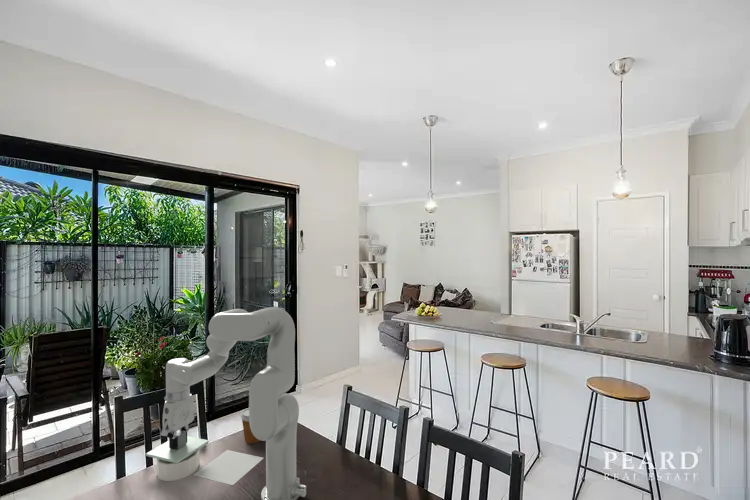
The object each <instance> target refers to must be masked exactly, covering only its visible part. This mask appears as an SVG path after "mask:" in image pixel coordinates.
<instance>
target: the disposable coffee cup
mask: <svg viewBox="0 0 750 500" xmlns="http://www.w3.org/2000/svg"><path fill="white" fill-rule="evenodd" d="M240 418H241V420H242V429H243V436H244V442H245V443H246V444H256V443H258V442H260V441H261V440H259V439H257V438H256V437H255V436H254V435H253V433H252V431H251V429H250V424H249V407H248V408H245V409H243V410H242V412H241V414H240Z"/></svg>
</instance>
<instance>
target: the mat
mask: <svg viewBox="0 0 750 500" xmlns="http://www.w3.org/2000/svg"><path fill="white" fill-rule="evenodd" d="M263 460H264V457H263V456H257V455H253V454H248V453H243V452H238V451H234V450H230V449H225V451H223V452H221V454H219V455H218V456H217V457H215V458H214V459H213V460H211V461H209V462H208V463H207V464H206V465H204V466H203V467H202V468H200V469H199V470H197V472H196V471H195V472H194V473H193V476H194V477H199V478H202V479H206V480H211V481H213V482H218V483H220V484H226V485H229V486H234V485H235V484H236V483H237V482H239V480H241V479H242V478H243V477H244V476H245V475H246V474H247V473H249V472H250V471H251V470H253V468H254V467H256V466H257V465H258V464H259V463H260V462H261V461H263Z"/></svg>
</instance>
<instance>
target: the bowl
mask: <svg viewBox="0 0 750 500" xmlns="http://www.w3.org/2000/svg"><path fill="white" fill-rule="evenodd" d="M199 466H200V449H198V450H197V451H195V452H194V453H192V454H191V455H189V456H188V457H186V458H185V459H183V460H182V461H180V462H179V463H173V462H169V461H165V460H161V459H157V458H156V475H157V478H158V480H161V481H165V482H172V481H179V480H182V479H184V478H187V477H189V476H191V475H193V474H195V473H196V471H198V468H199Z"/></svg>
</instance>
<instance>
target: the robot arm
mask: <svg viewBox="0 0 750 500" xmlns="http://www.w3.org/2000/svg"><path fill="white" fill-rule="evenodd" d="M295 327H296V326H295V323H294V320H293V318H292V316H291V314H289V313H288V312H287V311H286V310H285V309H283V308H280V307H277V306H273V307H265V308H262V309H258V310H255V311H252V312H248V311H247V310H246V309H243V308H234V309H228V310H226V311H225V310H224V311H221V312H218V313H215V315H213V316H212V317H211V319H210V320H209V323H208V332H209V335H208V336H207V338H206V342H205V343H206V347H207V348H208V349H209V351H208V352H207V354H206V355H204V356H203V357H199V358H197V359H194V360H192V361H190V360H189V359H188V358H185V357H178V358H177V357H176V358H172V359H170V360H168V361H167V362H166V364H165V396H164V398H163V399H164V405H163V410H162V430H161V432H160V436H163V437H166V438H168V440H169V448H171V449H175V450H176V449H177V448H178V446H177V438H176V433H177V430H182V431H186V443H187V436H188V432H189V427H190V426H191V424H192V422H193V421H195V405H194V399H193V396H192V393H191V392H190V391H191V390H190V388H191V386H194V385H195V384H198V383H200V382H201V381H203V380H206V379H208V378H211V377H212V376H214V375H215V374H217V372H218V371H219V370H221V368H222V367H223V366H224V365H225V364H226V362H227V361H228V359H229V355H230V351H231V349H232V348H233V347H234V346H235V345H236V343H237V342H252V341H256V340H259V339H262V338H264V337H266V336H269V335H270V340H269V343H268V347H267V352H266V353H267V354H266V355H267V360H266V362H267V363H266V367H265V368H264V369H262V370H260V371H259V372H257V373H256V374H255V375H254V376H253V378H252V379H251V381H250V384H249V391H248V408H249V424H250V429H251V431H252V433H253V435H254V436H255V437H256V438H257V439H259V440H260V441H263V442H264V441H265V486H264V487H263V488H262V490H261V493H260V497H261V498H260V499H261V500H298V499H299V497H302V498H305V497H306V495H307V485H305V484H301V483H300V477H297V433H298V432H297V430H298V422H299V416H300V415H299V414H300V413H299V412H300V405H299V403H298V400H297V399H296V397H295V396H294V395H292V394H291V393H287V392H288V391H290V389H291V388H292V387H293V386H294V384H295V379H296V378H295V377H296V375H295V374H296V372H295V371H296V367H295V366H296V363H295V362H296V361H295V360H296V358H295V357H296V356H295V355H296V354H295V345H296V344H295V342H296V328H295ZM172 433H173V434H172Z"/></svg>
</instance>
